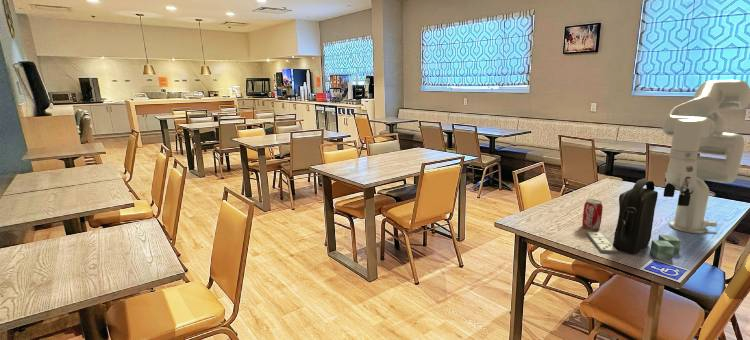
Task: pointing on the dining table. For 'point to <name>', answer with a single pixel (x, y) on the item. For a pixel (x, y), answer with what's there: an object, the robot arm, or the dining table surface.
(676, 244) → the pale green cube
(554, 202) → the dining table surface
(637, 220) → the shoulder bag
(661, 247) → the sage green cube
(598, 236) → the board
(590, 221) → the soda can
